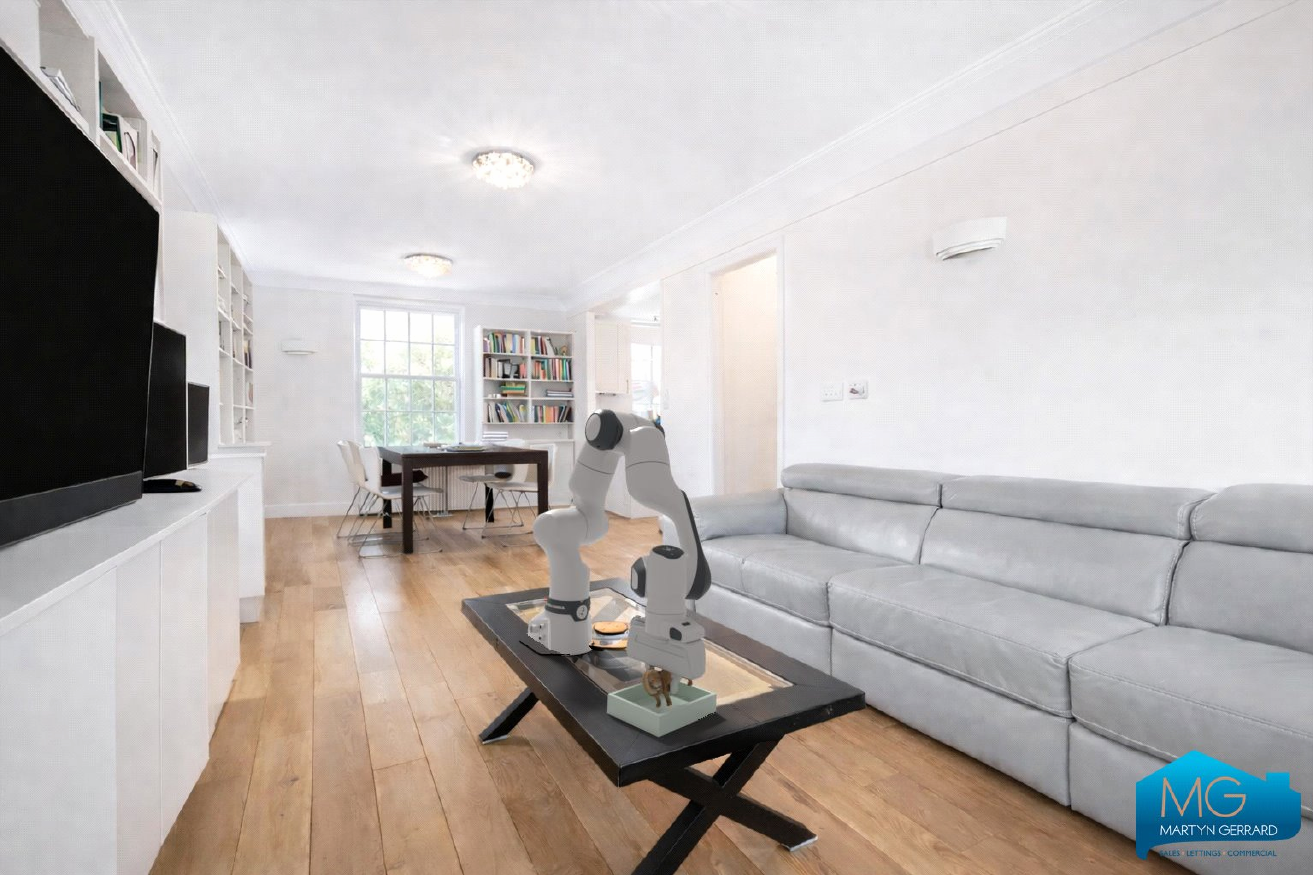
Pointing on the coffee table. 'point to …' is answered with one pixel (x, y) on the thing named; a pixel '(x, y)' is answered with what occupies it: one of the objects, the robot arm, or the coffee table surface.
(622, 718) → the box
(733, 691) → the coffee table surface
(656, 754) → the coffee table surface
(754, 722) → the coffee table surface
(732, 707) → the coffee table surface
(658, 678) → the lion figurine
